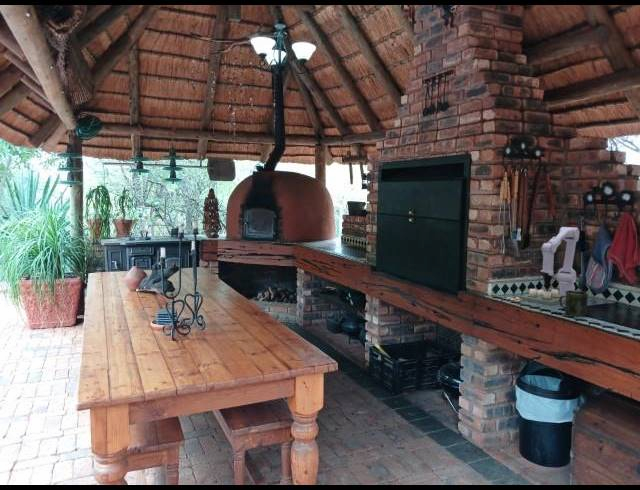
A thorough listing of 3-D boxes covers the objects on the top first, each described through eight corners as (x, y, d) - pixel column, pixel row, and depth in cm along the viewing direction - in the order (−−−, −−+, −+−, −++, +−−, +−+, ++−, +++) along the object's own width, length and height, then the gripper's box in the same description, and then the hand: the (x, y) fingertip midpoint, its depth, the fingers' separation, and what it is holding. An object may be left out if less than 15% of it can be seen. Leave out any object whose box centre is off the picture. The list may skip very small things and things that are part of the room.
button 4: (531, 295, 311) (531, 288, 311) (537, 296, 308) (537, 289, 307) (527, 296, 309) (528, 289, 308) (534, 297, 306) (534, 290, 305)
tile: (512, 297, 317) (513, 296, 317) (526, 299, 310) (526, 298, 310) (504, 298, 311) (504, 297, 311) (518, 301, 304) (518, 300, 304)
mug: (591, 316, 267) (592, 294, 266) (562, 316, 268) (563, 294, 267) (582, 311, 278) (583, 290, 276) (554, 311, 279) (555, 290, 278)
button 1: (553, 296, 309) (553, 289, 309) (559, 297, 306) (559, 290, 306) (549, 297, 307) (550, 289, 307) (556, 298, 304) (556, 290, 303)
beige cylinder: (539, 296, 317) (539, 289, 316) (545, 297, 314) (545, 290, 313) (535, 297, 314) (535, 290, 314) (541, 298, 311) (542, 291, 311)
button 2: (545, 298, 304) (545, 290, 304) (551, 299, 301) (552, 291, 300) (541, 298, 302) (542, 291, 301) (548, 300, 298) (548, 292, 298)
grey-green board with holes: (536, 295, 322) (536, 292, 321) (567, 300, 306) (568, 297, 306) (519, 299, 310) (519, 296, 309) (550, 305, 294) (551, 301, 294)
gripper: (537, 261, 307) (536, 283, 309) (544, 264, 293) (543, 287, 294) (549, 261, 306) (548, 283, 308) (557, 265, 292) (556, 288, 293)
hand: (547, 285), depth 301 cm, fingers closed
